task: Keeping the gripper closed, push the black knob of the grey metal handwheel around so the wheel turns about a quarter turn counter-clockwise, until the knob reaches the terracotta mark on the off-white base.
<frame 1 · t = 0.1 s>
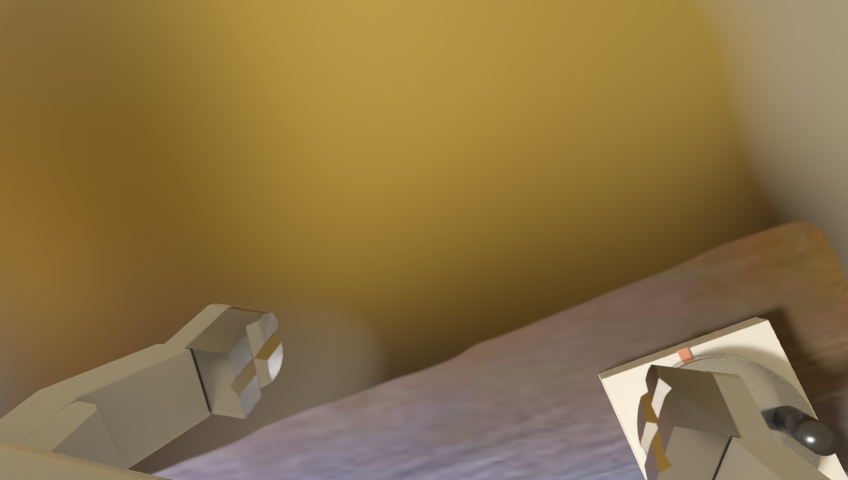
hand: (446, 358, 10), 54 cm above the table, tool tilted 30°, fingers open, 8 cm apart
handwheel: (736, 445, 50), point 7 cm above the table, hinge at 0.0°
wheel base: (710, 422, 57), on the table
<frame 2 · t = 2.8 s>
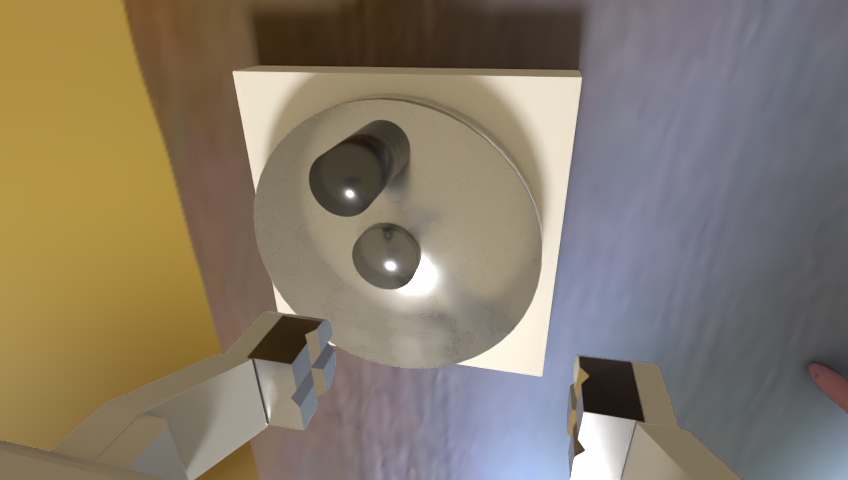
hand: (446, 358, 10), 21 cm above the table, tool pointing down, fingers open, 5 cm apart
handwheel: (378, 269, 26), point 7 cm above the table, hinge at 0.0°
wheel base: (411, 217, 33), on the table
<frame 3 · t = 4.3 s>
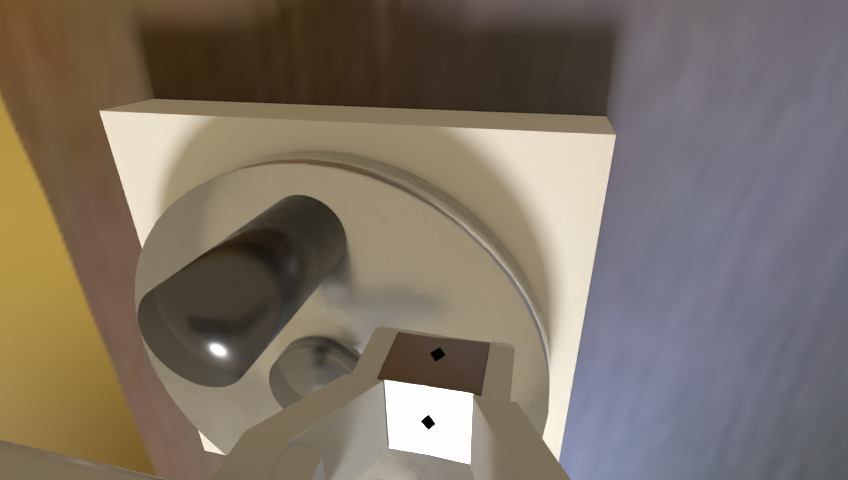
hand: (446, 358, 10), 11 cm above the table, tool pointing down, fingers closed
handwheel: (302, 412, 18), point 7 cm above the table, hinge at 0.0°
wheel base: (369, 305, 24), on the table
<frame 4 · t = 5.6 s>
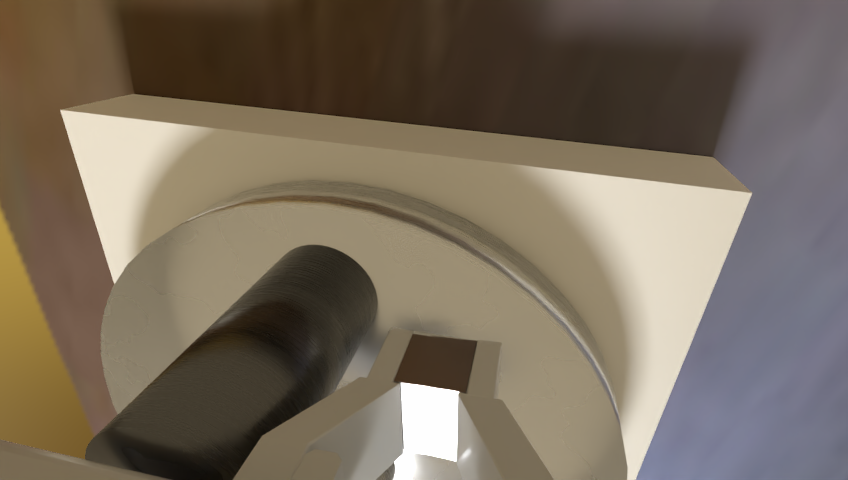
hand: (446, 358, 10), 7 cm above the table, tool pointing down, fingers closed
wheel base: (385, 352, 20), on the table
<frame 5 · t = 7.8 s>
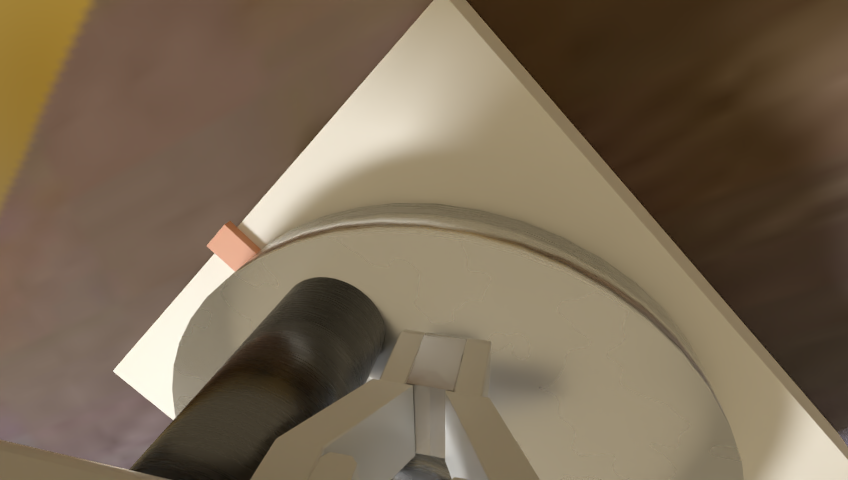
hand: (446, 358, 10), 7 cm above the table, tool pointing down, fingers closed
wheel base: (451, 373, 20), on the table
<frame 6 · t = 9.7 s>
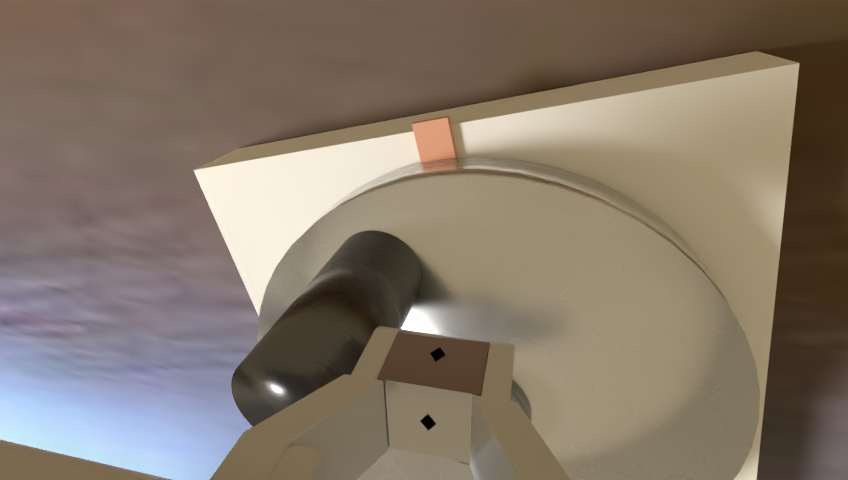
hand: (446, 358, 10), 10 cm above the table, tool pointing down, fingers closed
handwheel: (468, 452, 16), point 7 cm above the table, hinge at 110.2°
wheel base: (493, 321, 22), on the table
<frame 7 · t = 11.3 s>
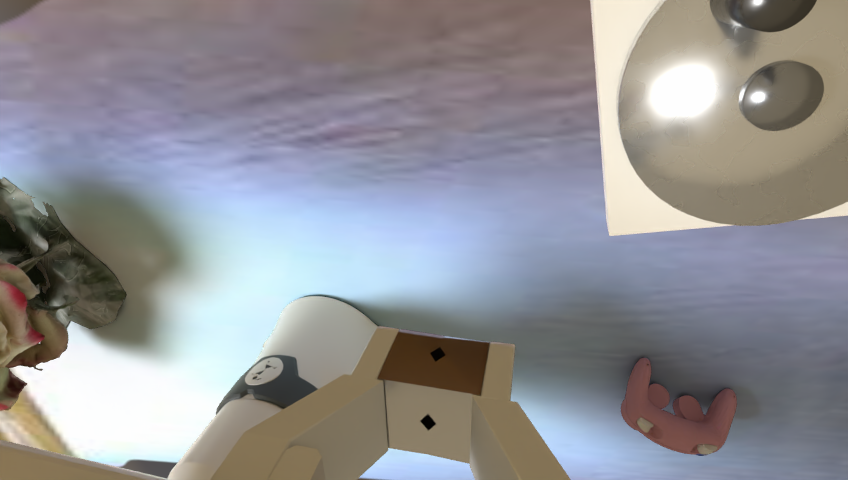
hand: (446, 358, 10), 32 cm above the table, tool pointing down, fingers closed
pink curved piece: (671, 387, 47), on the table
handwheel: (789, 101, 27), point 7 cm above the table, hinge at 110.2°
rose bouquet: (44, 262, 64), on the table
wheel base: (747, 79, 33), on the table
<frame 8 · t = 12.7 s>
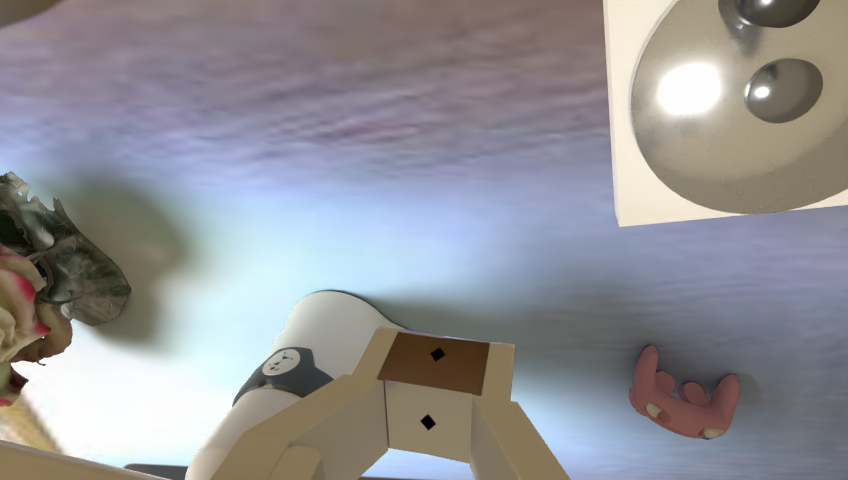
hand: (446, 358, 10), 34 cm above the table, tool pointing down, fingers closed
pink curved piece: (677, 374, 49), on the table
handwheel: (792, 95, 29), point 7 cm above the table, hinge at 110.2°
rose bouquet: (47, 258, 64), on the table
wheel base: (748, 78, 35), on the table
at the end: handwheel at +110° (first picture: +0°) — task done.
